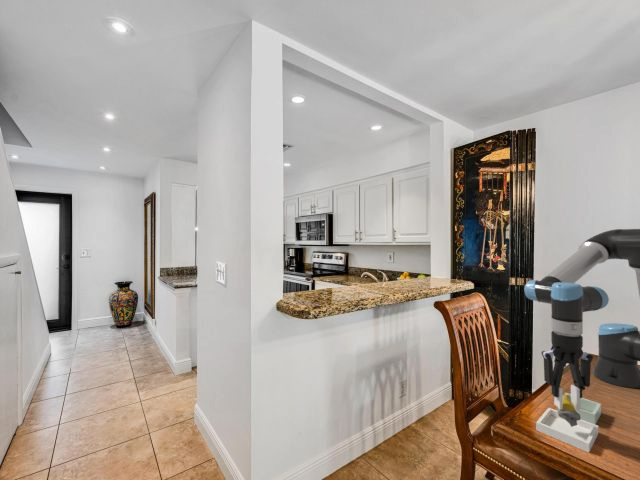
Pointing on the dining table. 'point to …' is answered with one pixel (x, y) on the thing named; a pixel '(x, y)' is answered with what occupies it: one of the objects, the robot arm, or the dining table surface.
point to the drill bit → (569, 412)
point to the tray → (568, 430)
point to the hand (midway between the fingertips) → (566, 407)
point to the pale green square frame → (590, 406)
